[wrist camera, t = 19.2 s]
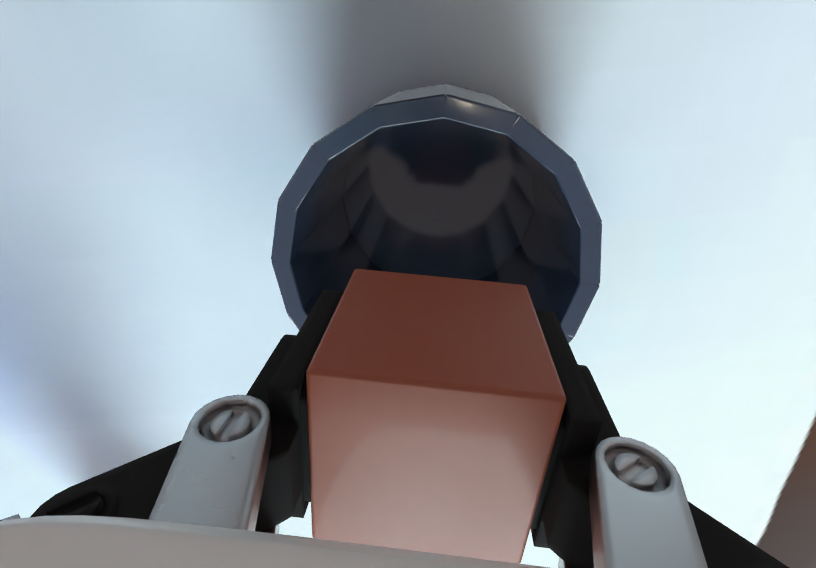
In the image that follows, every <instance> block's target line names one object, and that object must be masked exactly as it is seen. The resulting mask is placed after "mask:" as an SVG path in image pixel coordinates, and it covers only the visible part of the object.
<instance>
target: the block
mask: <svg viewBox="0 0 816 568" xmlns="http://www.w3.org/2000/svg"><path fill="white" fill-rule="evenodd" d="M306 379H307V405H308V432H309V459H310V485H311V512H312V535H313V538H315V539H324V540H332V541H340V542H349V543H357V544H365V545H373V546H381V547H389V548H397V549H405V550H413V551H421V552H430V553H437V554H445V555H453V556H461V557H469V558H477V559H485V560H493V561H501V562H509V563H517V564H519V563H520V562H521V559H522V556H523V552H524V549H525V545H526V541H527V538H528V534H529V531H530V527H531V524H532V520H533V517H534V513H535V509H536V506H537V502H538V499H539V495H540V492H541V488H542V484H543V481H544V477H545V474H546V470H547V467H548V463H549V459H550V456H551V452H552V449H553V445H554V442H555V438H556V434H557V431H558V427H559V424H560V420H561V417H562V413H563V410H564V406H565V402H566V396H565V393H564V390H563V388H562V385H561V382H560V379H559V376H558V374H557V371H556V368H555V365H554V362H553V360H552V357H551V354H550V351H549V348H548V345H547V343H546V340H545V337H544V334H543V331H542V329H541V326H540V323H539V320H538V317H537V315H536V312H535V309H534V306H533V303H532V300H531V298H530V295H529V292H528V289H527V286H525V285H520V284H510V283H500V282H489V281H479V280H469V279H458V278H448V277H437V276H427V275H417V274H406V273H396V272H386V271H375V270H365V269H355V270H354V272H353V274H352V276H351V278H350V280H349V282H348V285H347V287H346V289H345V291H344V293H343V295H342V297H341V299H340V301H339V304H338V306H337V308H336V310H335V312H334V314H333V316H332V318H331V320H330V323H329V325H328V327H327V329H326V331H325V333H324V335H323V337H322V339H321V342H320V344H319V346H318V348H317V350H316V352H315V354H314V356H313V358H312V360H311V363H310V365H309V367H308V369H307V371H306Z"/></svg>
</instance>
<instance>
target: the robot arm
mask: <svg viewBox="0 0 816 568" xmlns="http://www.w3.org/2000/svg"><path fill="white" fill-rule="evenodd" d="M343 293H344V291H337V290H327V289H324V290H323V291H322V292H321V294H320V296H319V298H318V299H317V301H316V303H315V305H314V306H313V308H312V310H311V312H310V313H309V315H308V317H307V319H306V320H305V322H304V324H303V325H302V327H301V329H300V331H299V332H298V334H297V336H296V335H284V336H283V337H282V339H281V340H280V342H279V343H278V345H277V347H276V348H275V350H274V351H273V353H272V355H271V356H270V358H269V359H268V361H267V363H266V364H265V366H264V367H263V369H262V371H261V372H260V374H259V375H258V377H257V379H256V380H255V382H254V383H253V385H252V387H251V388H250V390H249V391H248V393H247V395H233V396H226V397H223V398H220V399H216V400H214V401H212V402H210V403H208V404H206V405H205V406H203V407H202V408H201V409H200V410H199V411H197V412H196V413H195V415H194V416H193V418H192V419H191V421H190V423H189V425H188V428H187V430H186V432H185V435H184V437H183V439H182V441H179V442H177V443H174V444H172V445H170V446H167V447H165V448H162V449H160V450H158V451H155V452H153V453H150V454H148V455H146V456H143V457H141V458H138V459H136V460H134V461H131V462H129V463H127V464H124V465H122V466H119V467H117V468H115V469H112V470H110V471H107V472H105V473H103V474H100V475H98V476H95V477H93V478H91V479H88V480H86V481H83V482H81V483H79V484H76V485H74V486H71V487H69V488H67V489H66V490H64V491H62V492H60V493H58V494H56V495H54V496H53V497H52V498H50V499H49V500H48V501H46V502H45V503H43V504H42V505H41V506H40V507H39V508H38V509H37V510H36V511H35V512H34V513H33V514H32V515H31V517H30V518H20V516H19V514H18V515H14V516H11V517H8V518H5V519H2V520H0V568H548V567H540V566H532V565H525V564H517V563H509V562H501V561H493V560H485V559H477V558H469V557H461V556H453V555H445V554H437V553H430V552H421V551H413V550H405V549H397V548H389V547H381V546H373V545H365V544H357V543H349V542H340V541H332V540H324V539H315V538H307V537H298V536H290V535H282V534H279V524H280V523H281V522H283V521H285V520H286V519H288V518H290V517H291V516H292V517H300V518H304V515H305V512H306V509H307V506H308V503H309V502H311V485H310V459H309V432H308V405H307V379H306V371H307V369H308V367H309V365H310V363H311V360H312V358H313V356H314V354H315V352H316V350H317V348H318V346H319V344H320V342H321V339H322V337H323V335H324V333H325V331H326V329H327V327H328V325H329V323H330V320H331V318H332V316H333V314H334V312H335V310H336V308H337V306H338V304H339V301H340V299H341V297H342V295H343ZM535 312H536V315H537V317H538V320H539V323H540V326H541V329H542V331H543V334H544V337H545V340H546V343H547V345H548V348H549V351H550V354H551V357H552V360H553V362H554V365H555V368H556V371H557V374H558V376H559V379H560V382H561V385H562V388H563V390H564V393H565V396H566V402H565V406H564V410H563V413H562V417H561V420H560V424H559V427H558V431H557V434H556V438H555V442H554V445H553V449H552V452H551V456H550V459H549V463H548V467H547V470H546V474H545V477H544V481H543V484H542V488H541V492H540V495H539V499H538V502H537V506H536V509H535V513H534V517H533V520H532V524H531V527H530V529H531V532H532V538H533V543H534V546H536V547H544V548H550V549H551V550H552V551H553V552H555V553H556V554H557V555H558V556H559V557H560V558H559V563H558V568H789V567H787V566H786V565H784V564H782V563H781V562H779V561H778V560H777V559H775V558H773V557H772V556H770V555H769V554H767V553H766V552H764V551H763V550H761V549H760V548H758V547H757V546H755V545H754V544H752V543H751V542H749V541H748V540H746V539H745V538H743V537H741V536H740V535H738V534H737V533H735V532H734V531H732V530H731V529H729V528H728V527H726V526H725V525H723V524H722V523H720V522H719V521H717V520H716V519H714V518H712V517H711V516H709V515H708V514H706V513H705V512H703V511H702V510H700V509H699V508H697V507H696V506H694V505H693V504H691V503H690V502H688V501H687V498H686V494H685V491H684V488H683V485H682V481H681V478H680V476H679V474H678V472H677V470H676V468H675V466H674V465H673V464H672V463H671V462H670V461H669V460H668V458H667V457H665V456H664V455H663V454H661V453H660V452H659V451H658V450H656V449H655V448H653V447H651V446H649V445H647V444H645V443H643V442H640V441H637V440H635V439H632V438H625V437H620V435H619V433H618V431H617V429H616V427H615V424H614V422H613V420H612V418H611V416H610V414H609V411H608V409H607V407H606V405H605V403H604V401H603V399H602V396H601V394H600V392H599V390H598V388H597V386H596V383H595V381H594V379H593V377H592V375H591V373H590V371H589V369H588V368H587V367H586V366H584V365H578V364H577V362H576V360H575V358H574V355H573V353H572V351H571V348H570V346H569V344H568V341H567V339H566V337H565V334H564V332H563V330H562V327H561V325H560V323H559V321H558V318H557V316H556V314H555V312H549V311H539V310H535Z"/></svg>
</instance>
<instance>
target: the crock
mask: <svg viewBox="0 0 816 568" xmlns="http://www.w3.org/2000/svg"><path fill="white" fill-rule="evenodd" d="M601 222H602V220H601V218H600V216H599V213H598V211H597V209H596V207H595V204H594V202H593V200H592V198H591V195H590V193H589V191H588V189H587V186H586V184H585V182H584V180H583V177H582V175H581V173H580V171H579V168H578V166H577V164H576V162H575V161H574V160H573V158H572V157H570V156H569V155H568V154H567V153H566V152H564V151H563V150H562V149H561V148H560V147H559V146H557V145H556V144H555V143H554V142H553V141H551V140H550V139H549V138H548V137H547V136H546V135H544V134H543V133H542V132H541V131H540V130H538V129H537V128H536V127H535V126H534V125H533V124H531V123H530V122H529V121H528V120H527V119H525V118H524V117H523V116H522V115H521V114H519V113H517V112H516V111H514V110H513V109H511V108H510V107H508V106H507V105H505V104H503V103H502V102H500V101H499V100H497V99H496V98H494V97H492V96H490V95H486V94H483V93H479V92H475V91H472V90H469V89H464V88H461V87H457V86H453V85H450V84H447V85H446V84H441V85H435V86H428V87H421V88H416V89H410V90H404V91H400V92H397V93H395V94H393V95H391V96H389V97H387V98H385V99H384V100H382V101H380V102H378V103H376V104H374V105H372V106H370V107H368V108H367V109H365V110H364V111H362V112H361V113H359V114H358V115H356V116H355V117H353V118H352V119H350V120H349V121H347V122H345V123H344V124H342V125H341V126H339V127H338V128H336V129H335V130H333V131H332V132H330V133H329V134H327V135H326V136H324V137H323V138H321V139H320V140H318V141H317V142H315V143H314V145H312V146H311V147H310V149H309V150H308V152H307V154H306V155H305V157H304V159H303V160H302V162H301V163H300V165H299V167H298V168H297V170H296V172H295V173H294V175H293V176H292V178H291V180H290V181H289V183H288V185H287V186H286V188H285V189H284V191H283V193H282V194H281V196H280V198H279V201H278V205H277V213H276V222H275V230H274V239H273V247H272V256H271V260H272V265H273V268H274V271H275V275H276V278H277V281H278V285H279V288H280V291H281V295H282V298H283V301H284V305H285V308H286V311H287V314H289V315H288V316H289V318H290V319H291V320H292V321H293V323H294V324H295V325H296V326H297V328H298V329H299V330H300V329H301V327H302V325H303V324H304V322H305V320H306V319H307V317H308V315H309V313H310V312H311V310H312V308H313V306H314V305H315V303H316V301H317V299H318V298H319V296H320V294H321V292H322V291H323V290H324V289H327V290H337V291H345V289H346V287H347V285H348V282H349V280H350V278H351V276H352V274H353V272H354V270H355V269H365V270H375V271H386V272H396V273H406V274H417V275H427V276H437V277H448V278H458V279H469V280H479V281H489V282H500V283H510V284H520V285H525V286H527V289H528V292H529V295H530V298H531V300H532V303H533V306H534V309H535V310H539V311H549V312H555V314H556V316H557V318H558V321H559V323H560V325H561V327H562V330H563V332H564V334H565V337H566V339H567V341H568V343H569V342H570V341H571V340H572V339H573V337H574V336H575V334H576V332H577V330H578V328H579V326H580V324H581V322H582V320H583V318H584V316H585V314H586V312H587V310H588V308H589V306H590V304H591V302H592V300H593V298H594V296H595V294H596V292H597V290H598V288H599V283H600V268H601V237H602V223H601Z"/></svg>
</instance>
